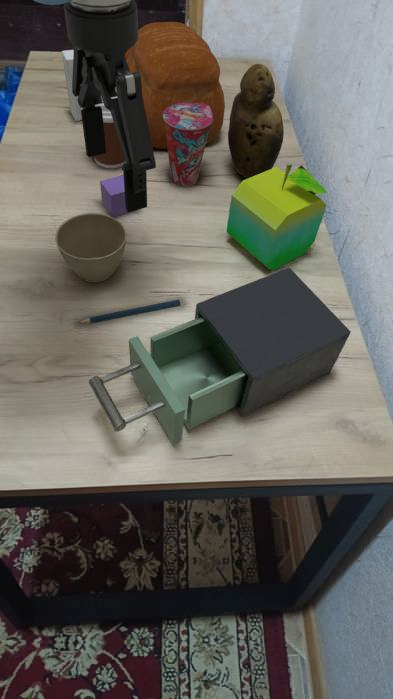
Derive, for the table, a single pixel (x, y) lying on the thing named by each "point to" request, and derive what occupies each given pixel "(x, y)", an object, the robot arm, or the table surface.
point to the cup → (186, 139)
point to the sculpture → (255, 124)
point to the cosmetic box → (68, 70)
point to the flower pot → (92, 245)
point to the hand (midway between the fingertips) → (115, 180)
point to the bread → (175, 75)
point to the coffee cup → (110, 142)
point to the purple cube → (114, 195)
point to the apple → (276, 215)
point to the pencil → (131, 312)
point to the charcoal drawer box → (275, 336)
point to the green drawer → (178, 379)
